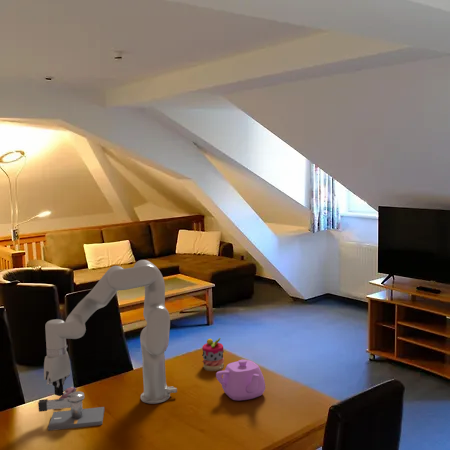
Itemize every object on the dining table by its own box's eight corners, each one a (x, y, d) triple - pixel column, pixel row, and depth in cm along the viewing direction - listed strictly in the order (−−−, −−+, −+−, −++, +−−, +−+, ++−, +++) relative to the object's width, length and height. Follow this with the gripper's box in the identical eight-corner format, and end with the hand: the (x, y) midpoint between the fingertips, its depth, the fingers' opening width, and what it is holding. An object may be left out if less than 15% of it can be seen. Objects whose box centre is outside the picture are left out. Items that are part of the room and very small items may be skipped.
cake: (200, 371, 245) (199, 341, 243) (205, 362, 255) (204, 333, 253) (222, 371, 243) (221, 341, 241) (225, 363, 253) (224, 334, 252)
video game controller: (62, 410, 213) (68, 396, 211) (53, 405, 213) (59, 391, 212) (74, 399, 222) (79, 386, 221) (65, 394, 223) (71, 381, 221)
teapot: (210, 392, 221) (208, 359, 220) (253, 382, 229) (252, 350, 228) (230, 415, 200) (229, 378, 199) (277, 403, 209) (276, 368, 207)
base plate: (104, 410, 208) (104, 406, 208) (102, 424, 196) (101, 420, 196) (53, 415, 205) (53, 411, 205) (48, 430, 193) (48, 426, 193)
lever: (86, 411, 204) (84, 390, 203) (84, 418, 198) (83, 397, 197) (41, 415, 201) (40, 395, 200) (38, 423, 195) (36, 402, 194)
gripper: (64, 343, 210) (67, 386, 212) (34, 355, 198) (37, 400, 200) (77, 346, 206) (79, 389, 208) (47, 358, 194) (50, 404, 196)
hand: (59, 394), depth 204 cm, fingers closed
